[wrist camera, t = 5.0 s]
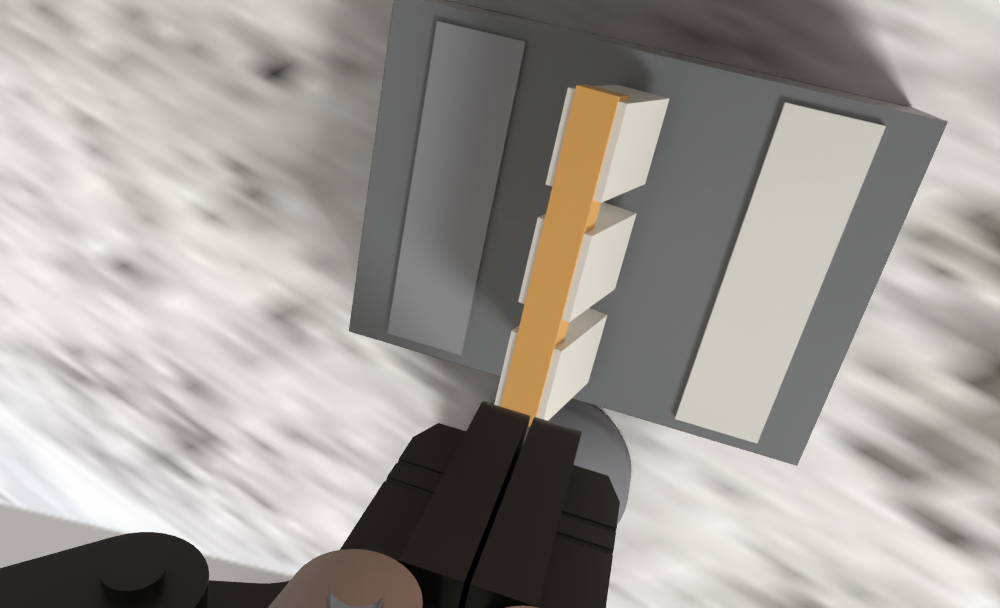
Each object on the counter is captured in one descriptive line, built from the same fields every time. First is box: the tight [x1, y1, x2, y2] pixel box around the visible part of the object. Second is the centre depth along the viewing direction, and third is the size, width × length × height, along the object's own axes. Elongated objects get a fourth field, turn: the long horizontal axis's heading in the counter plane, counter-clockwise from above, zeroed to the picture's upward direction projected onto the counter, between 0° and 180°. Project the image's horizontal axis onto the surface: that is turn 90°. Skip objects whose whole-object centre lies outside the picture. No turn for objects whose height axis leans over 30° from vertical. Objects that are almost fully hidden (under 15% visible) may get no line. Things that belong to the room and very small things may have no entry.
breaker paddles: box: [494, 85, 669, 426], centre depth 19 cm, size 1×8×3 cm, turn 169°
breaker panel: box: [349, 0, 947, 465], centre depth 22 cm, size 14×10×3 cm
